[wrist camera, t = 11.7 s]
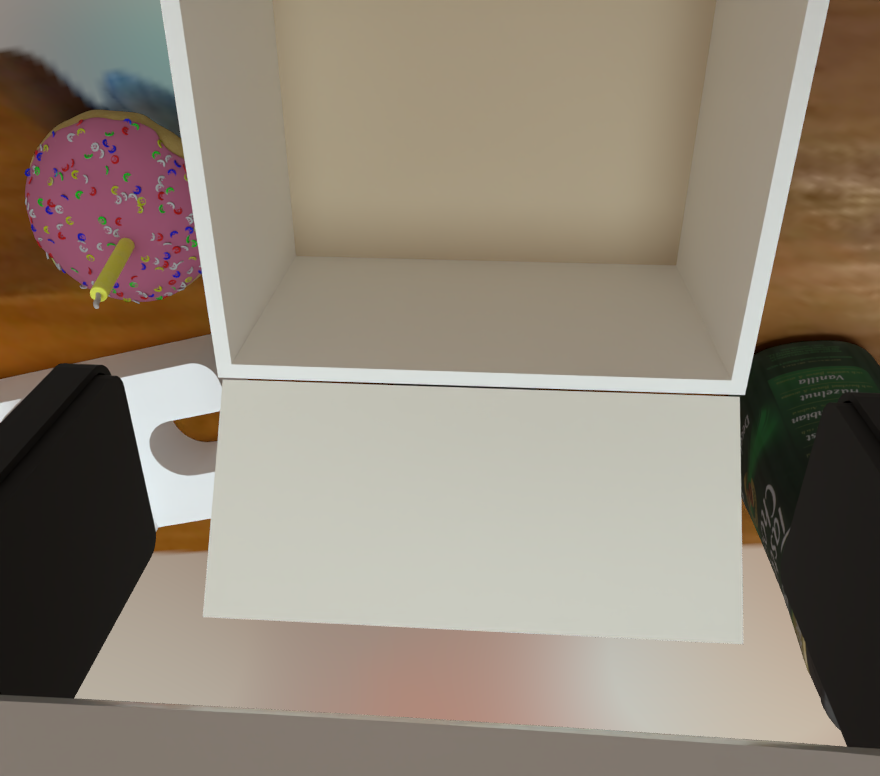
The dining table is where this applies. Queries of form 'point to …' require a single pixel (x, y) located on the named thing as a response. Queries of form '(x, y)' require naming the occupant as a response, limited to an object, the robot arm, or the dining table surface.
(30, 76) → the dining table surface
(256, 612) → the flap
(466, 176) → the carton
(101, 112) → the cupcake
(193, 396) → the white slotted bracket
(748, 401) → the coffee jar
